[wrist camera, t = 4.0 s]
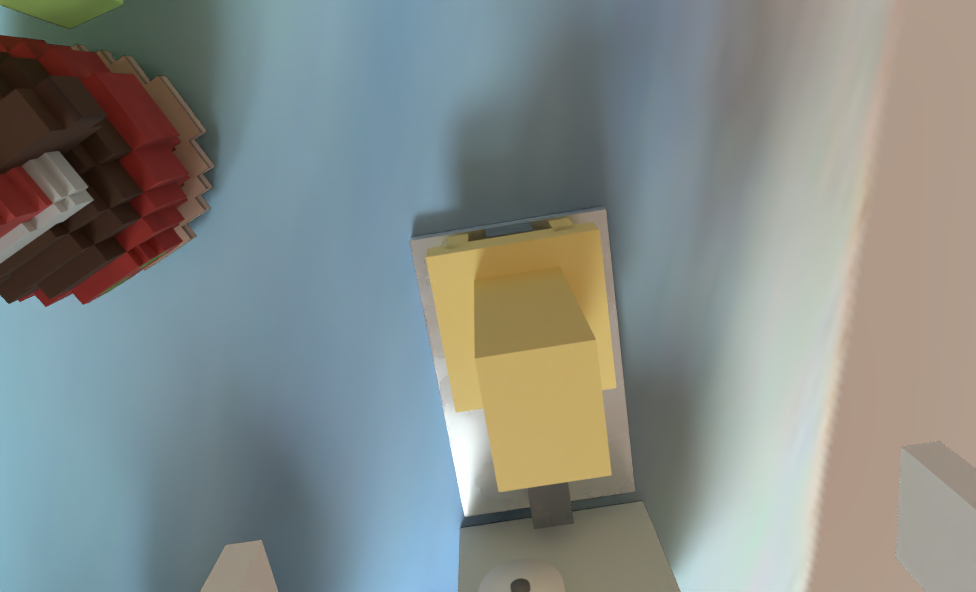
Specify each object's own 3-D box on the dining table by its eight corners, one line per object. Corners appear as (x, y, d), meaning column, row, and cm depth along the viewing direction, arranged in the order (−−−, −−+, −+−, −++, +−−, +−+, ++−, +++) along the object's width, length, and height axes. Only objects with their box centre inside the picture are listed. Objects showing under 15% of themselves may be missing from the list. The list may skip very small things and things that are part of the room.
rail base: (465, 507, 34) (464, 539, 32) (411, 236, 30) (405, 250, 27) (631, 482, 34) (643, 513, 32) (602, 206, 30) (614, 216, 27)
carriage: (457, 381, 31) (449, 534, 20) (430, 239, 29) (405, 327, 18) (602, 358, 31) (671, 501, 20) (586, 214, 28) (654, 288, 18)
